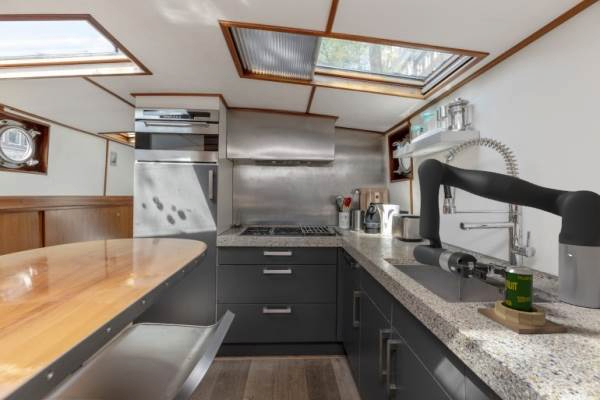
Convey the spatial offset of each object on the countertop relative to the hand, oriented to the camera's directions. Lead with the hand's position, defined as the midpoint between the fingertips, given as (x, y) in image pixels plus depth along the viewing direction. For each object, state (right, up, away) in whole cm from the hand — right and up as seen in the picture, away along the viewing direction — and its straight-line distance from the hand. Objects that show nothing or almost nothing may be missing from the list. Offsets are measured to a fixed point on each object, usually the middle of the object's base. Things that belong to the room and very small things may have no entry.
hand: (500, 276), depth 72 cm
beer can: (0, -9, -6) cm, 10 cm away
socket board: (0, -9, -6) cm, 11 cm away
